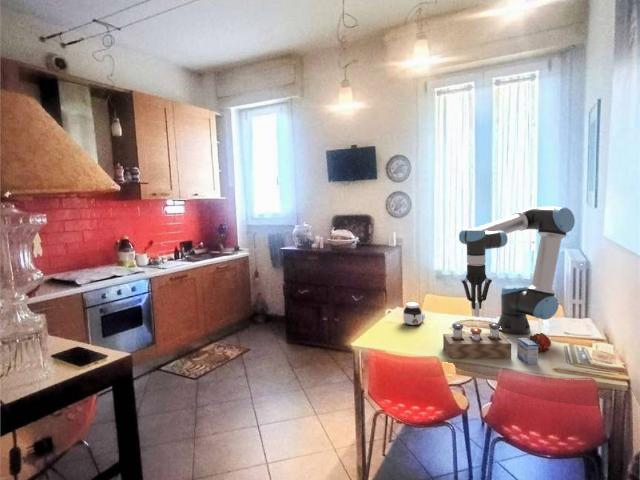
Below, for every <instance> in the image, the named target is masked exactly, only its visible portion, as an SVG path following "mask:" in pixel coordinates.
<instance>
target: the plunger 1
mask: <svg viewBox="0 0 640 480" xmlns="http://www.w3.org/2000/svg"><path fill="white" fill-rule="evenodd" d="M451 328H452V329H453V332H452V334H453V339H454V341H462V334H463V329H464V324H462V323H459V322H457V323H452V326H451Z"/></svg>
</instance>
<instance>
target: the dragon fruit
mask: <svg viewBox="0 0 640 480" xmlns="http://www.w3.org/2000/svg"><path fill="white" fill-rule="evenodd" d="M528 339H529V340H531V341H533V342H534V343H536V344H538V353H540V352H542V351H543V352H548V351H549V347H551V346H552V342H551V341H552V340H550V338H549V337H548V336H547V335H546V334H545V333H542V332H540V333H534V334H533V335H530V336H529V338H528Z"/></svg>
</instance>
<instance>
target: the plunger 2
mask: <svg viewBox="0 0 640 480" xmlns="http://www.w3.org/2000/svg"><path fill="white" fill-rule="evenodd" d="M470 333H471V334H472V341H480V334H482V329H481V328H479V327H471V328H470Z"/></svg>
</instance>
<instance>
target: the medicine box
mask: <svg viewBox="0 0 640 480" xmlns="http://www.w3.org/2000/svg"><path fill="white" fill-rule="evenodd" d="M516 349H517V352H516V353H517V354H516V357H517V359H519V360H521V361H523V362H524V363H525V364H526V365H528V366H529V365H537V364H538V363H539V362H538V361H539V352H538V344H536V343H534V342H533V341H531V340H530V338H528V337H519V338H517V348H516Z"/></svg>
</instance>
